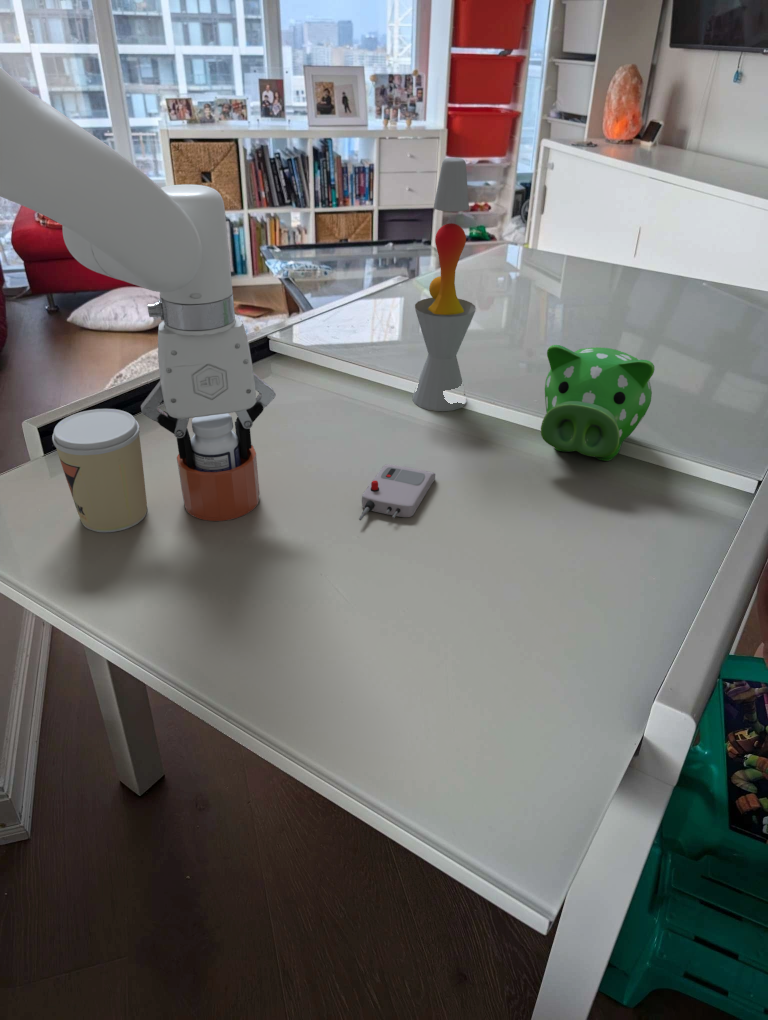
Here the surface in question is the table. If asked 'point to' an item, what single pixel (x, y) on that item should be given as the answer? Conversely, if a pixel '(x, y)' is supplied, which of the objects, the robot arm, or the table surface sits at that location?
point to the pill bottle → (214, 444)
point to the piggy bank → (594, 399)
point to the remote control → (396, 491)
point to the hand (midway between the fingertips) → (216, 456)
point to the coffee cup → (103, 467)
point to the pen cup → (220, 490)
